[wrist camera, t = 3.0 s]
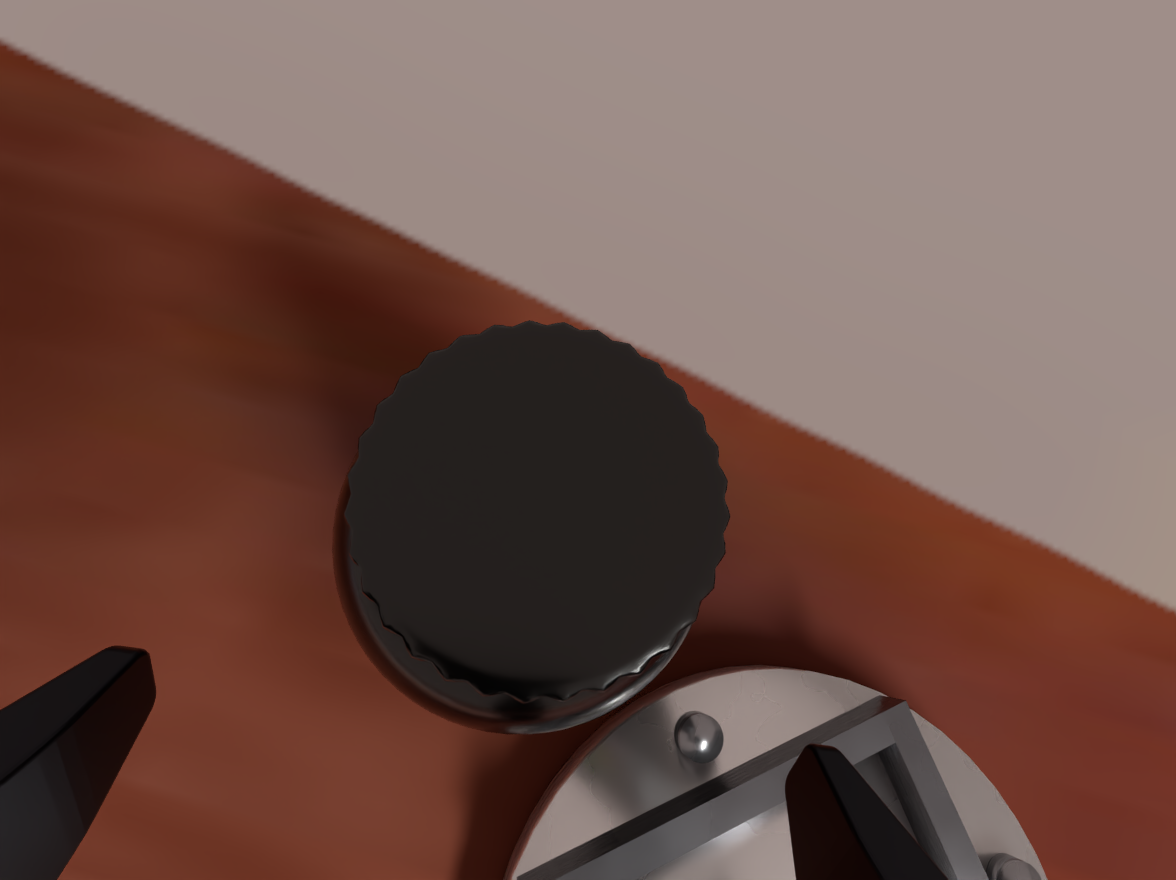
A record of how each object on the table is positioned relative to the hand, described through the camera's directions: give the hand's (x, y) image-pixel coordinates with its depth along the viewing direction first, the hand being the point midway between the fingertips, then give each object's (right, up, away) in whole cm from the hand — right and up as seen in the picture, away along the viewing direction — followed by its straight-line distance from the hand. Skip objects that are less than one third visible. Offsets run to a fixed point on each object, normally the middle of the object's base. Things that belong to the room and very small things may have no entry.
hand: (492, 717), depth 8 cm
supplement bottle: (-1, 0, +11) cm, 11 cm away
